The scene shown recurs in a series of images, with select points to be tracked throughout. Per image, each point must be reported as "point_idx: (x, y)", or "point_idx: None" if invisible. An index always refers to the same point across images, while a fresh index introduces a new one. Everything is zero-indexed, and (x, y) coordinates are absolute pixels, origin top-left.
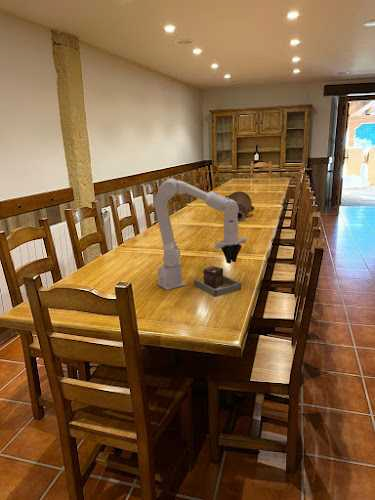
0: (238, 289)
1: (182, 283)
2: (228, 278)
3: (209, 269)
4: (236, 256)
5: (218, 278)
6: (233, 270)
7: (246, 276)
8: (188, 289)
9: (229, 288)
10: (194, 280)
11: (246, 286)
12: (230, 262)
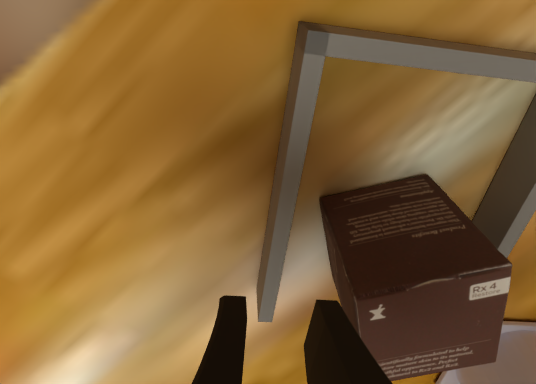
0: (329, 25)
1: None
2: (289, 205)
3: (463, 341)
4: (222, 371)
5: (415, 223)
6: (68, 327)
7: (51, 202)
8: (524, 270)
9: (448, 46)
10: None
11: (207, 34)
12: (329, 309)
